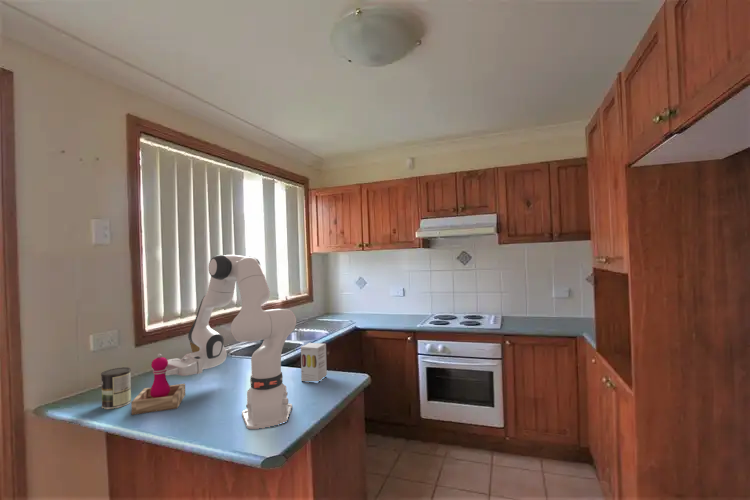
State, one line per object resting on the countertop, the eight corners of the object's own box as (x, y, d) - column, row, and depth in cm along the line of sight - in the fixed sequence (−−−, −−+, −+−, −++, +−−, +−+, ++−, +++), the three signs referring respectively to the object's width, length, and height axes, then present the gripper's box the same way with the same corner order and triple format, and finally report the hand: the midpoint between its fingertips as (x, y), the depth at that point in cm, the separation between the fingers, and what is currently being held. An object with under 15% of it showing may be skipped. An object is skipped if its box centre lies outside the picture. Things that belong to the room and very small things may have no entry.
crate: (177, 408, 148) (176, 396, 148) (131, 414, 143) (131, 402, 144) (185, 394, 163) (185, 383, 163) (144, 400, 159) (144, 388, 159)
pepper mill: (161, 405, 149) (160, 356, 150) (146, 404, 151) (145, 355, 151) (174, 398, 156) (173, 351, 157) (159, 398, 158) (158, 351, 158)
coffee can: (97, 411, 148) (97, 376, 149) (106, 402, 158) (105, 369, 158) (127, 406, 152) (127, 372, 152) (134, 398, 162) (133, 366, 162)
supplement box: (300, 382, 175) (299, 346, 175) (310, 376, 184) (309, 342, 184) (318, 383, 172) (317, 347, 172) (327, 377, 181) (326, 343, 181)
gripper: (178, 353, 171) (146, 361, 159) (203, 358, 160) (171, 367, 148) (178, 367, 171) (147, 375, 159) (204, 373, 160) (172, 383, 148)
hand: (159, 371), depth 154 cm, fingers open, 8 cm apart
